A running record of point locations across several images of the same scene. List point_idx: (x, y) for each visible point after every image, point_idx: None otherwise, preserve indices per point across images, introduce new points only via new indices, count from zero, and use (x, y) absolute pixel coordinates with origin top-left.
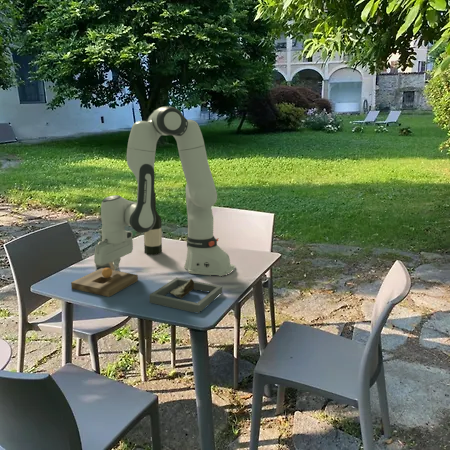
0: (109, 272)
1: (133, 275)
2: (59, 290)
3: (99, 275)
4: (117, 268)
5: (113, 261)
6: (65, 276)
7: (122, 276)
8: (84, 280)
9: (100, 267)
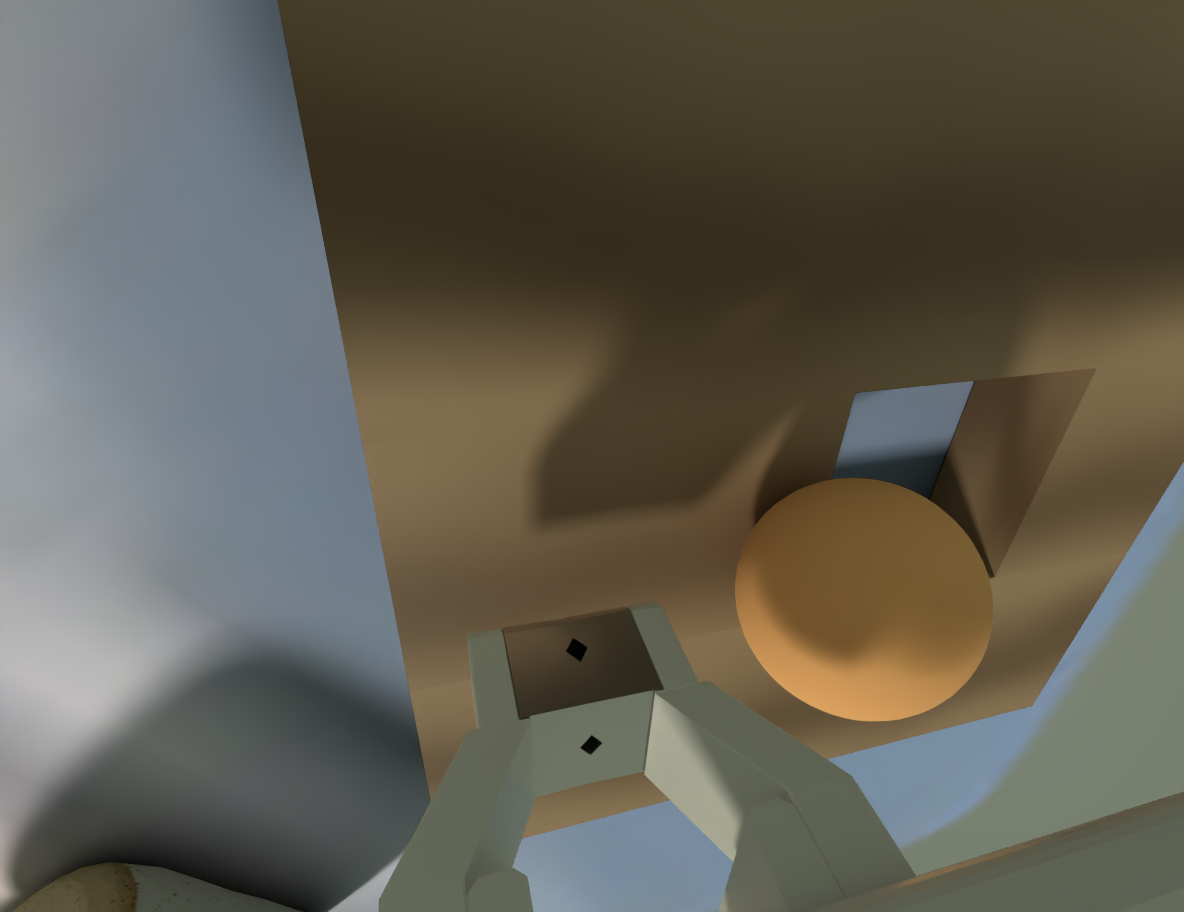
0: (945, 530)
1: (402, 23)
2: None
3: (748, 667)
4: (523, 627)
5: (836, 845)
6: (700, 874)
7: (640, 302)
8: None
9: (294, 909)
